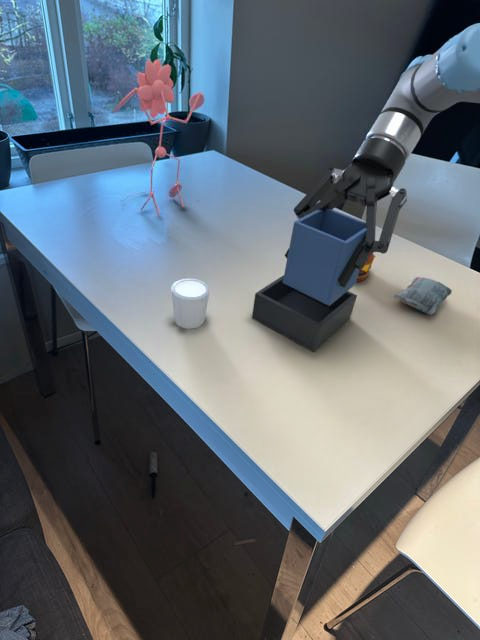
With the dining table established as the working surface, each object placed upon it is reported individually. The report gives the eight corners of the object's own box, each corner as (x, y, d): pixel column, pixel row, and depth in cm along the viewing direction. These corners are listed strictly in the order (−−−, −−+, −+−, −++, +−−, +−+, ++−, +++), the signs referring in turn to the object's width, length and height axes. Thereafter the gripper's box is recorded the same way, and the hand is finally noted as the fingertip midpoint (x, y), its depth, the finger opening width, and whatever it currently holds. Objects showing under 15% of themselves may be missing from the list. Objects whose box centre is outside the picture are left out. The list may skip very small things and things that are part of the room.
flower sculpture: (206, 200, 129) (214, 62, 108) (137, 226, 112) (131, 68, 90) (168, 184, 135) (168, 51, 114) (98, 206, 118) (83, 54, 97)
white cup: (191, 304, 88) (193, 273, 83) (215, 321, 84) (217, 290, 80) (163, 317, 83) (163, 285, 79) (186, 335, 80) (187, 303, 76)
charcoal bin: (349, 319, 89) (357, 295, 86) (313, 352, 80) (320, 327, 76) (291, 290, 95) (296, 266, 92) (251, 317, 86) (255, 293, 83)
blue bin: (355, 284, 76) (373, 225, 69) (329, 306, 70) (346, 243, 63) (310, 264, 80) (323, 206, 73) (282, 282, 74) (294, 221, 67)
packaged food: (390, 305, 95) (397, 285, 92) (411, 284, 102) (418, 265, 99) (429, 323, 91) (439, 304, 88) (448, 301, 99) (457, 282, 96)
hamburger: (371, 268, 107) (380, 243, 103) (363, 287, 100) (371, 261, 96) (334, 256, 109) (340, 232, 105) (323, 274, 102) (329, 248, 98)
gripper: (450, 184, 70) (379, 307, 69) (330, 146, 80) (266, 254, 79) (453, 156, 63) (374, 292, 62) (322, 119, 73) (251, 236, 72)
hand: (314, 271), depth 71 cm, fingers closed on blue bin, 9 cm apart
